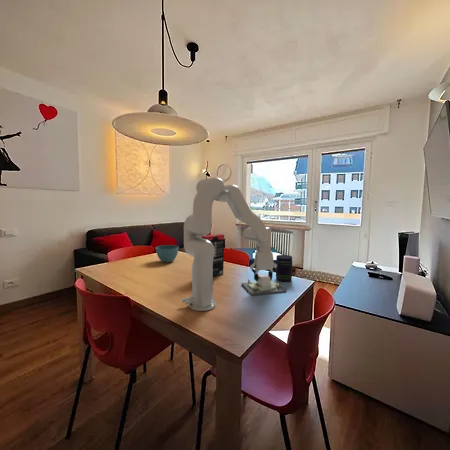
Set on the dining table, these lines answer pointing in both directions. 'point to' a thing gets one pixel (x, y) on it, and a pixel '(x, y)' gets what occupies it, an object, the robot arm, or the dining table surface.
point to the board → (272, 286)
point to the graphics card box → (217, 252)
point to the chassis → (257, 292)
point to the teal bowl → (167, 252)
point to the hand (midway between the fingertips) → (263, 279)
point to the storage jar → (284, 268)
